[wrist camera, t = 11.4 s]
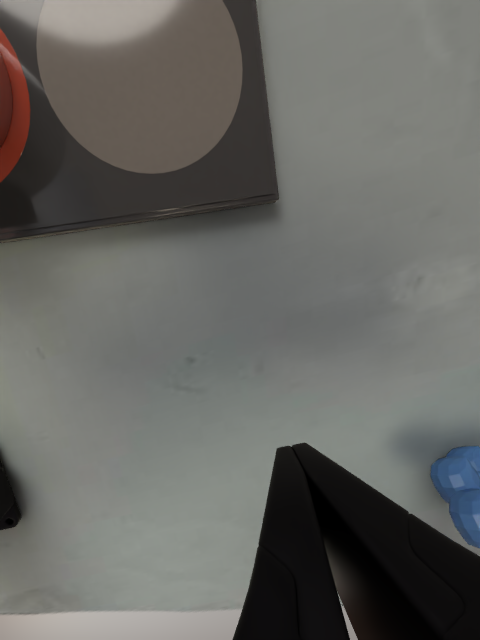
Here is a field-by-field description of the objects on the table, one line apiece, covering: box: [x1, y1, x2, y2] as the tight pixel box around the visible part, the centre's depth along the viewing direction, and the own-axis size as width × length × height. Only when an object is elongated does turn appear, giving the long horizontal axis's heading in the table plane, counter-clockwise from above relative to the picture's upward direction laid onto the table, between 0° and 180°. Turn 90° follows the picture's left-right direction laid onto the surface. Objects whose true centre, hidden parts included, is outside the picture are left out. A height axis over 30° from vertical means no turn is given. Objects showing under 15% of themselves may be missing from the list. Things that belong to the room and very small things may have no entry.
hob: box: [0, 0, 279, 243], centre depth 15 cm, size 23×14×1 cm, turn 99°
